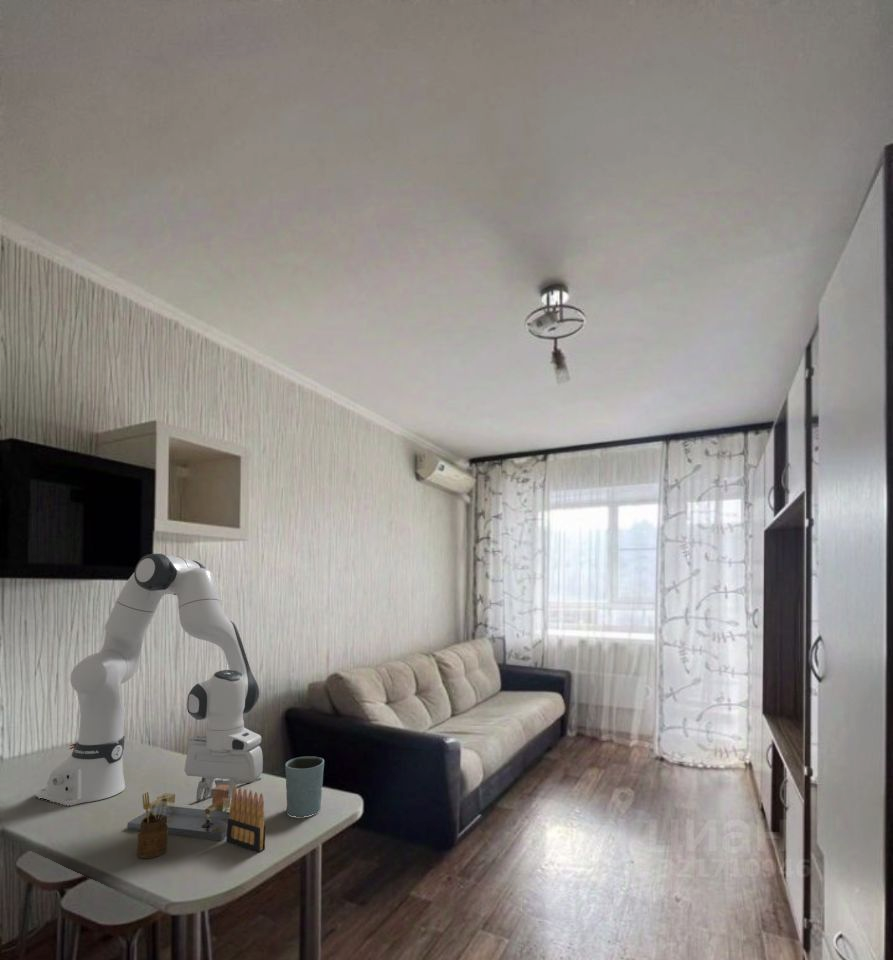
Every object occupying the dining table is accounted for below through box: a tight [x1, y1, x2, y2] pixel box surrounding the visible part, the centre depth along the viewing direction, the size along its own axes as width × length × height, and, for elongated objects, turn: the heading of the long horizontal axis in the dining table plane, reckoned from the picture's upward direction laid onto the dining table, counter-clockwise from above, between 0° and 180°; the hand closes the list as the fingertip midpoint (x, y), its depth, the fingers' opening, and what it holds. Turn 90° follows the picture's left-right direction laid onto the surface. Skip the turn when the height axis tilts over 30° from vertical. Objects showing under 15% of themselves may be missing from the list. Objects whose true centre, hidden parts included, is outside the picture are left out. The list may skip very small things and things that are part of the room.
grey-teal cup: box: [284, 755, 325, 817], centre depth 146 cm, size 10×10×12 cm
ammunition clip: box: [225, 786, 266, 854], centre depth 128 cm, size 11×2×12 cm, turn 61°
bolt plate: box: [126, 792, 230, 841], centre depth 137 cm, size 26×10×5 cm, turn 77°
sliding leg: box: [205, 784, 231, 824], centre depth 137 cm, size 3×7×6 cm, turn 167°
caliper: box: [195, 777, 262, 803], centre depth 159 cm, size 20×1×6 cm, turn 145°
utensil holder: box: [136, 791, 169, 860], centre depth 125 cm, size 6×6×12 cm
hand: (221, 796), depth 139 cm, fingers closed on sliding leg, 3 cm apart
